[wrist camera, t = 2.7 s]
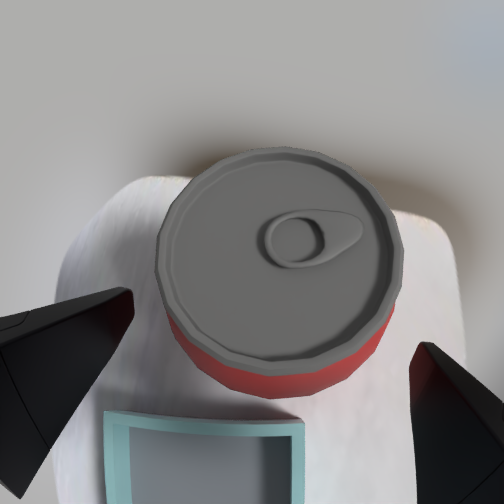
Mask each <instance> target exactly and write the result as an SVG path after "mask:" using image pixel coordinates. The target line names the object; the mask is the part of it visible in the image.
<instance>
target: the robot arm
mask: <svg viewBox="0 0 504 504" xmlns="http://www.w3.org/2000/svg"><path fill="white" fill-rule="evenodd" d="M134 313H135V310H134V299H133V292H132V290H131V289H128V288H124V287H117V288H113V289H109V290H105V291H101V292H98V293H94V294H90V295H86V296H82V297H79V298H75V299H71V300H67V301H63V302H60V303H56V304H52V305H48V306H45V307H41V308H37V309H33V310H31V311H25V312H21V313H18V314H14V315H9V316H5V317H0V484H2V485H3V486H4V487H5V488H6V489H7V490H9V491H10V492H11V493H12V494H14V495H15V496H16V497H17V498H19V499H21V498H22V497H23V495H24V493H25V492H26V490H27V488H28V487H29V485H30V483H31V481H32V480H33V478H34V476H35V474H36V473H37V471H38V469H39V468H40V466H41V465H42V463H43V461H44V460H45V458H46V456H47V455H48V453H49V452H50V449H51V448H52V446H53V445H54V443H55V442H56V440H57V438H58V437H59V435H60V434H61V432H62V430H63V429H64V427H65V426H66V424H67V423H68V421H69V420H70V418H71V416H72V415H73V413H74V412H75V410H76V409H77V407H78V406H79V404H80V403H81V401H82V400H83V398H84V397H85V395H86V394H87V392H88V391H89V389H90V388H91V386H92V385H93V383H94V382H95V380H96V379H97V377H98V376H99V374H100V373H101V371H102V370H103V368H104V367H105V366H106V364H107V363H108V361H109V360H110V358H111V357H112V355H113V354H114V352H115V350H116V349H117V347H118V345H119V343H120V341H121V340H122V338H123V336H124V334H125V332H126V331H127V329H128V327H129V325H130V323H131V322H132V320H133V318H134ZM409 382H410V413H411V423H412V432H413V441H414V453H415V466H416V484H417V504H504V403H502V401H501V400H500V399H499V398H498V397H497V396H496V395H494V394H493V393H492V392H491V391H490V390H488V388H486V387H485V386H484V385H483V384H482V383H480V382H479V381H478V380H477V379H476V378H475V377H473V376H472V375H471V374H470V373H469V372H468V371H466V370H465V369H464V368H463V367H462V366H460V365H459V364H458V363H457V362H456V361H454V360H453V359H452V358H451V357H450V356H448V355H447V354H446V353H445V352H444V351H442V350H441V349H440V348H439V347H437V346H436V345H435V344H434V343H432V342H420V343H419V345H418V346H417V349H416V351H415V353H414V356H413V358H412V360H411V362H410V366H409Z"/></svg>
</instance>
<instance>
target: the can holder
mask: <svg viewBox="0 0 504 504" xmlns="http://www.w3.org/2000/svg"><path fill="white" fill-rule="evenodd" d="M103 432H104V467H105V484H106V497H107V504H304V495H305V423H304V422H303V420H302V419H301V418H300V419H275V420H232V419H206V418H190V417H178V416H167V415H158V414H149V413H141V412H134V411H127V410H117V411H104V418H103Z"/></svg>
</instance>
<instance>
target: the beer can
mask: <svg viewBox="0 0 504 504" xmlns="http://www.w3.org/2000/svg"><path fill="white" fill-rule="evenodd" d="M403 260H404V248H403V244H402V241H401V237H400V233H399V230H398V226H397V223H396V219H395V216H394V214H393V213H392V211H391V210H390V208H389V207H388V205H387V204H386V202H385V201H384V199H383V198H382V196H381V195H380V193H379V192H378V191H377V189H376V188H375V187H374V186H373V185H372V184H371V183H370V182H368V181H367V180H366V179H365V178H364V177H362V176H361V175H360V174H359V173H358V172H356V171H355V170H354V169H353V168H351V167H350V166H348V165H346V164H344V163H342V162H339V161H337V160H335V159H333V158H331V157H329V156H326V155H324V154H322V153H320V152H315V151H309V150H304V149H298V148H292V147H273V148H261V149H251V150H248V151H246V152H243V153H239V154H237V155H234V156H231V157H228V158H225V159H222V160H220V161H218V162H217V163H215V164H214V165H213V166H211V167H209V168H208V169H206V170H205V171H203V172H202V173H201V174H199V175H197V176H196V177H194V178H193V179H192V180H191V181H190V182H189V183H188V185H187V186H186V187H185V188H184V189H183V190H182V192H181V193H180V194H179V195H178V196H177V198H176V199H175V200H174V201H173V202H172V204H171V205H170V207H169V209H168V212H167V214H166V216H165V219H164V221H163V224H162V226H161V228H160V231H159V233H158V236H157V245H156V258H155V275H156V279H157V282H158V286H159V290H160V293H161V297H162V300H163V304H164V307H165V309H166V312H167V316H168V319H169V322H170V326H171V329H172V331H173V334H174V336H175V338H176V339H177V341H178V342H179V344H180V345H181V346H182V348H183V349H184V350H185V352H186V353H187V354H188V356H189V357H190V358H191V360H192V361H193V362H194V364H195V365H196V366H197V368H199V369H200V370H202V371H203V372H205V373H206V374H208V375H209V376H211V377H212V378H214V379H215V380H217V381H218V382H220V383H221V384H223V385H224V386H226V387H227V388H229V389H231V390H234V391H238V392H242V393H246V394H250V395H254V396H258V397H262V398H266V399H280V398H291V397H301V396H310V395H313V394H315V393H317V392H319V391H322V390H324V389H326V388H328V387H330V386H332V385H335V384H337V383H339V382H341V381H343V380H345V379H347V378H348V377H349V376H350V375H351V374H352V373H353V372H354V371H355V370H356V369H357V368H359V367H360V366H361V365H362V364H363V363H364V362H365V361H366V360H367V359H368V358H369V357H370V356H371V355H372V354H373V353H374V352H375V350H376V348H377V346H378V344H379V342H380V340H381V338H382V335H383V333H384V331H385V329H386V327H387V325H388V323H389V321H390V319H391V316H392V314H393V312H394V307H395V301H396V299H397V296H398V294H399V292H400V289H401V287H402V275H403Z"/></svg>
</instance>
